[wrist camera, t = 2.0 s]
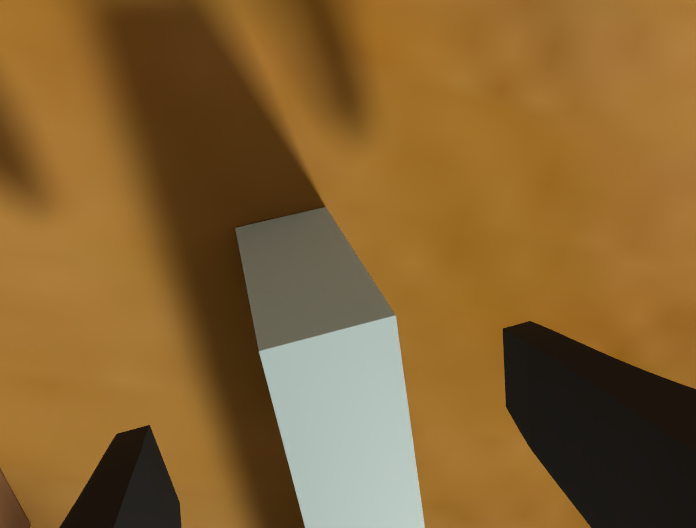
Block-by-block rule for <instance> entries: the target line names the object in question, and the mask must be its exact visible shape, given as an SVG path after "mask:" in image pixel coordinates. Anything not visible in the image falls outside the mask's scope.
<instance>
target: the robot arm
mask: <svg viewBox="0 0 696 528" xmlns="http://www.w3.org/2000/svg"><path fill="white" fill-rule="evenodd" d="M503 346H504V369H505V393H506V407H507V409H508V411H509V413H510V414H511V416H512V418H513V420H514V422H515V423H516V425H517V427H518V429H519V430H520V432H521V434H522V435H523V437H524V439H525V440H526V442H527V444H528V445H529V447H530V448H531V450H532V451H533V452H534V454H535V455H536V456H537V458H538V459H539V460H540V462H541V463H542V464H543V466H544V467H545V468H546V470H547V471H548V472H549V474H550V475H551V476H552V477H553V479H554V480H555V481H556V483H557V484H558V485H559V487H560V488H561V489H562V490H563V492H564V493H565V494H566V496H567V497H568V498H569V499H570V501H571V502H572V503H573V505H574V506H575V507H576V508H577V510H578V511H579V512H580V514H581V515H582V516H583V517H584V519H585V520H586V521H587V523H588V524H589V525H590V526H591V528H696V389H694V388H691V387H688V386H685V385H682V384H679V383H676V382H674V381H671V380H668V379H666V378H663V377H660V376H658V375H655V374H652V373H650V372H647V371H645V370H642V369H640V368H637V367H635V366H632V365H630V364H627V363H625V362H623V361H620V360H618V359H615V358H613V357H611V356H609V355H606V354H604V353H602V352H599V351H597V350H595V349H593V348H590V347H588V346H586V345H584V344H582V343H579V342H577V341H575V340H573V339H570V338H568V337H566V336H564V335H562V334H559V333H557V332H555V331H553V330H550V329H548V328H546V327H543V326H541V325H539V324H536V323H533V322H531V321H529V322H525V323H521V324H518V325H514V326H511V327H507V328H503ZM60 528H181V516H180V502H179V500H178V497H177V495H176V492H175V489H174V487H173V484H172V482H171V479H170V476H169V474H168V471H167V469H166V466H165V464H164V461H163V458H162V456H161V453H160V451H159V448H158V445H157V443H156V440H155V438H154V435H153V433H152V430H151V427H150V425H148V426H144V427H140V428H137V429H133V430H129V431H126V432H122V433H118V434H116V436H115V437H114V439H113V440H112V442H111V444H110V445H109V447H108V449H107V450H106V452H105V454H104V455H103V457H102V459H101V461H100V462H99V464H98V466H97V467H96V469H95V471H94V472H93V474H92V476H91V478H90V479H89V481H88V483H87V484H86V486H85V488H84V489H83V491H82V493H81V494H80V496H79V497H78V499H77V501H76V502H75V504H74V505H73V507H72V509H71V510H70V512H69V513H68V515H67V517H66V518H65V520H64V521H63V523H62V525H61V526H60Z"/></svg>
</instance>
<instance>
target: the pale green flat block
mask: <svg viewBox="0 0 696 528" xmlns="http://www.w3.org/2000/svg"><path fill="white" fill-rule="evenodd" d="M235 230H236V235H237V240H238V245H239V251H240V256H241V261H242V266H243V271H244V277H245V282H246V287H247V292H248V297H249V303H250V308H251V313H252V318H253V323H254V329H255V334H256V339H257V344H258V349H259V354H260V357H261V361H262V365H263V369H264V373H265V376H266V380H267V384H268V388H269V392H270V396H271V399H272V403H273V407H274V411H275V415H276V418H277V422H278V426H279V430H280V434H281V437H282V441H283V445H284V449H285V453H286V456H287V460H288V464H289V468H290V472H291V475H292V479H293V483H294V487H295V491H296V494H297V498H298V502H299V506H300V510H301V513H302V517H303V521H304V525H305V528H425V526H424V519H423V512H422V504H421V497H420V490H419V482H418V475H417V468H416V460H415V453H414V446H413V439H412V431H411V424H410V417H409V409H408V402H407V395H406V387H405V380H404V373H403V366H402V358H401V351H400V344H399V336H398V329H397V322H396V315H395V314H394V312H393V310H392V309H391V307H390V306H389V304H388V303H387V301H386V300H385V298H384V296H383V295H382V293H381V292H380V290H379V289H378V287H377V286H376V284H375V283H374V281H373V279H372V278H371V276H370V275H369V273H368V272H367V270H366V269H365V267H364V265H363V264H362V262H361V261H360V259H359V258H358V256H357V255H356V253H355V252H354V250H353V248H352V247H351V245H350V244H349V242H348V241H347V239H346V238H345V236H344V234H343V233H342V231H341V230H340V228H339V227H338V225H337V224H336V222H335V221H334V219H333V217H332V216H331V214H330V213H329V211H328V210H327V208H326V207H323V208H319V209H315V210H310V211H306V212H302V213H297V214H293V215H289V216H284V217H280V218H275V219H271V220H267V221H262V222H258V223H254V224H249V225H245V226H241V227H236V228H235Z"/></svg>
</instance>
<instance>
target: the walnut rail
mask: <svg viewBox="0 0 696 528" xmlns="http://www.w3.org/2000/svg"><path fill="white" fill-rule="evenodd" d="M0 528H30V523H29V521H28V519H27V517H26V515H25V514H24V512H23V510H22V508H21V506H20V505H19V503H18V501H17V499H16V497H15V495H14V494H13V492H12V490H11V488H10V486H9V485H8V483H7V481H6V479H5V477H4V475H3V474H2V472H1V470H0Z"/></svg>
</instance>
